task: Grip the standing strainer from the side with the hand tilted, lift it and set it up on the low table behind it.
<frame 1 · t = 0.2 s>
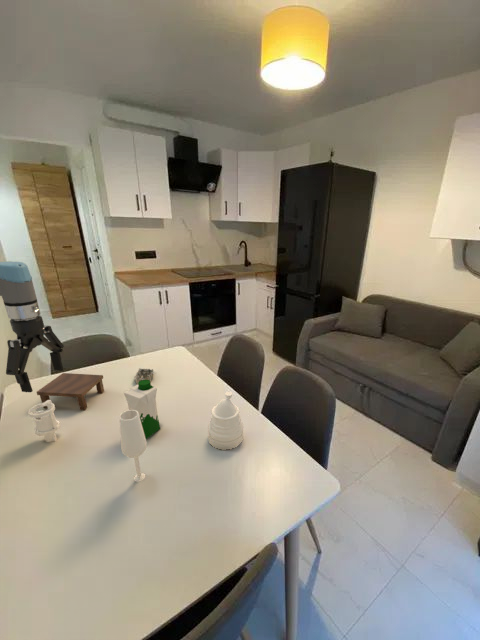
hand: (44, 380, 93), 24 cm above the table, tool pointing down, fingers open, 13 cm apart
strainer: (52, 441, 101), on the table
champagne flute: (140, 480, 88), on the table
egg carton: (144, 379, 143), on the table
milk carton: (146, 431, 108), on the table
low table: (75, 399, 125), on the table
honey pot: (225, 438, 107), on the table
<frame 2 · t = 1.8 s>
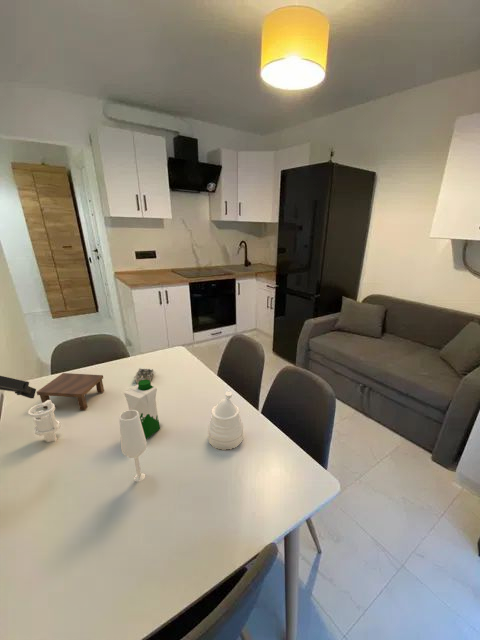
hand: (8, 394, 82), 26 cm above the table, tool tilted 45°, fingers open, 13 cm apart
nothing on the table moved.
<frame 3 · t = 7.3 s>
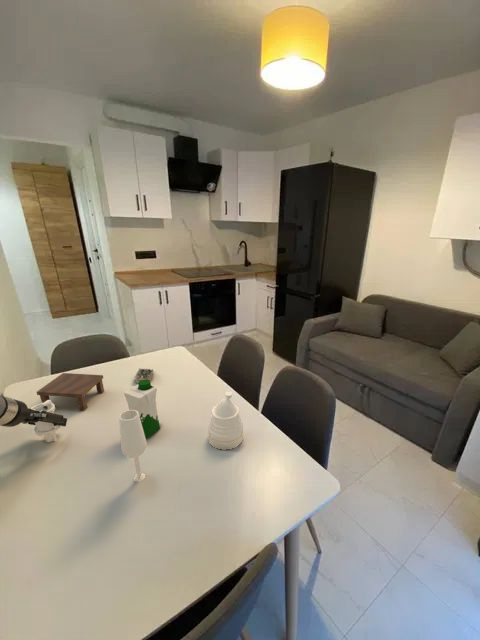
hand: (54, 422, 102), 6 cm above the table, tool tilted 45°, fingers closed on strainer, 7 cm apart
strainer: (52, 441, 101), on the table, touching gripper
everything else where it was.
when the fingers open (14 cm above the table, at t = 16.8 s): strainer stays where it is, resting on low table.
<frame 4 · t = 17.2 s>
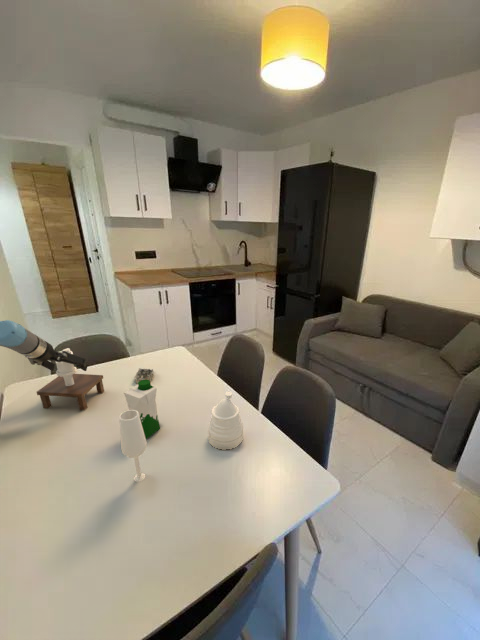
hand: (69, 367, 120), 15 cm above the table, tool tilted 45°, fingers open, 12 cm apart
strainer: (70, 384, 121), point 8 cm above the table, touching low table
everything else where it was.
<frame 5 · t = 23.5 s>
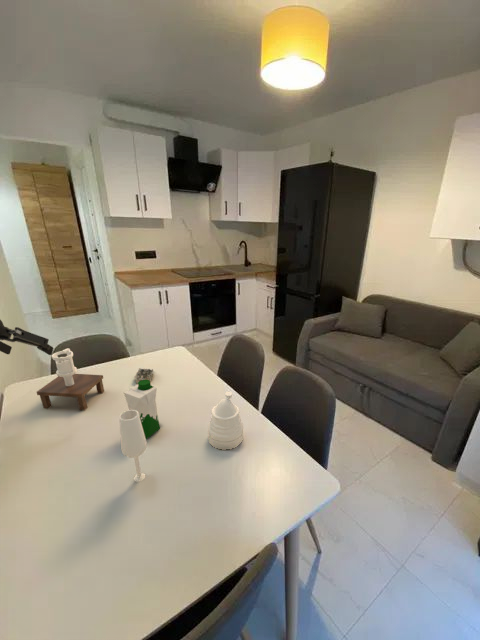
hand: (30, 351, 99), 30 cm above the table, tool tilted 45°, fingers open, 13 cm apart
nothing on the table moved.
at the end: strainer inside the target area on the low table (1.1 cm from its centre), point 7.8 cm above the low table's base; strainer tilted 1°; the gripper is holding nothing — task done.
